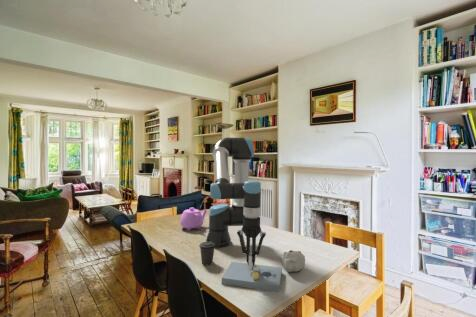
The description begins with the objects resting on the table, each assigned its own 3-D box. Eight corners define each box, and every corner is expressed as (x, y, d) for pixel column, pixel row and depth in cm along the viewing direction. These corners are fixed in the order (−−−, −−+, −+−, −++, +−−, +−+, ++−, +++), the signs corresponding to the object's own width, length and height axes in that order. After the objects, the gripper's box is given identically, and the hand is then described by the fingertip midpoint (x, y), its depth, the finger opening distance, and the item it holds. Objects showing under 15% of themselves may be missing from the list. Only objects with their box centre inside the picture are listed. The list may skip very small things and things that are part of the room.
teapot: (213, 229, 176) (213, 208, 176) (187, 234, 165) (187, 212, 165) (201, 222, 192) (201, 203, 192) (177, 226, 181) (177, 206, 181)
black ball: (246, 267, 112) (246, 260, 112) (248, 264, 115) (248, 256, 115) (254, 268, 111) (254, 260, 111) (255, 265, 115) (255, 257, 115)
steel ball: (259, 267, 105) (258, 275, 105) (261, 264, 108) (260, 272, 108) (251, 265, 106) (250, 273, 106) (253, 262, 109) (252, 270, 109)
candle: (286, 275, 109) (278, 264, 124) (310, 274, 110) (299, 263, 125) (285, 255, 110) (277, 246, 125) (309, 254, 111) (299, 245, 126)
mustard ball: (251, 280, 101) (251, 273, 101) (252, 277, 104) (252, 270, 103) (258, 281, 100) (258, 274, 100) (259, 277, 103) (259, 270, 103)
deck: (221, 283, 103) (221, 277, 103) (231, 266, 118) (231, 261, 118) (279, 291, 97) (279, 285, 97) (281, 272, 113) (281, 267, 112)
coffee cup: (217, 260, 125) (217, 240, 125) (212, 267, 117) (212, 246, 117) (202, 258, 127) (202, 239, 127) (196, 265, 119) (196, 245, 119)
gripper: (235, 217, 105) (234, 271, 105) (265, 219, 102) (263, 275, 102) (239, 213, 112) (238, 264, 113) (267, 215, 109) (266, 267, 109)
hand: (250, 269), depth 107 cm, fingers closed
